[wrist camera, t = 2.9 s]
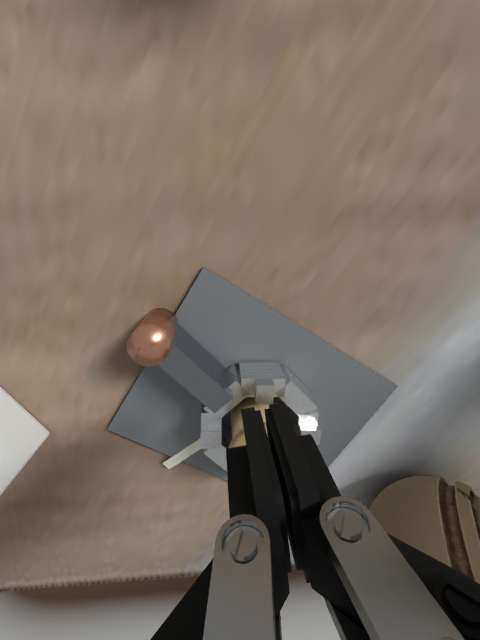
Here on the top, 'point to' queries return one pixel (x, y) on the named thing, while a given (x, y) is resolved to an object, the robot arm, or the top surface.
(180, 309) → the base plate
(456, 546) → the tan round piece
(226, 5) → the top surface
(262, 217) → the top surface
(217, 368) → the ball joint lever
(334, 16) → the top surface
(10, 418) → the medicine bottle
